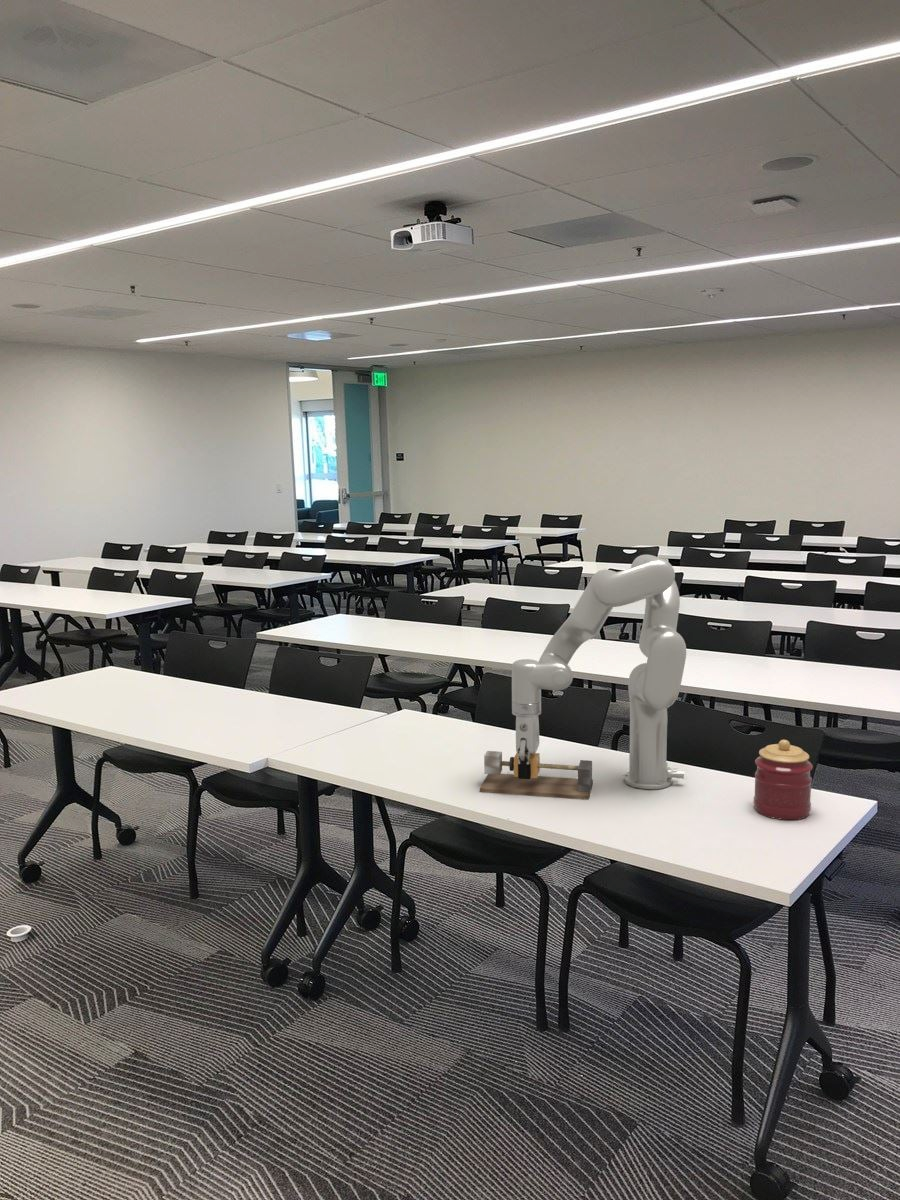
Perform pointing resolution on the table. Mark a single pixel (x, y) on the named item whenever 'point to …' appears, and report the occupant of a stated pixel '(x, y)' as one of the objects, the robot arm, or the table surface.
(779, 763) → the canister
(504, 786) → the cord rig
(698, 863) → the table surface
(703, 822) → the table surface
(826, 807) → the table surface
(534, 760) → the sleeve
